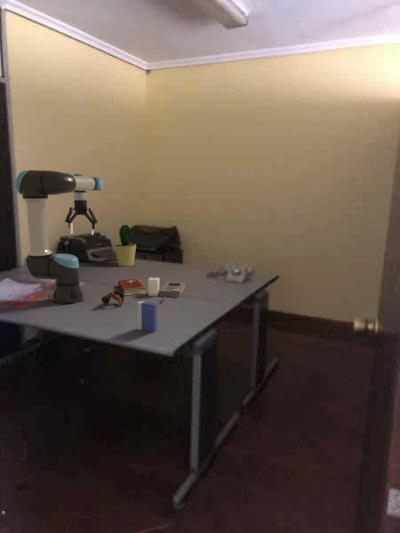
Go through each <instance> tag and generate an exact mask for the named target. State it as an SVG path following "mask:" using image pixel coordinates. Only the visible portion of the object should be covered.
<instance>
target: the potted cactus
mask: <svg viewBox="0 0 400 533" xmlns="http://www.w3.org/2000/svg"><path fill="white" fill-rule="evenodd" d="M118 236H119V240H120V243H116V244H114V248H115V253H116V260H117V265H118V266H120V267H131V266H134V265H135V257H136V249H137V244H136V243H131V240H130V239H131V237H132V229H131V226H129V224H128V225H127V224H122V225H121V226H120V227H119V231H118Z"/></svg>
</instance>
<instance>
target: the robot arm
mask: <svg viewBox="0 0 400 533" xmlns="http://www.w3.org/2000/svg"><path fill="white" fill-rule="evenodd" d="M104 184H105V183H104V179H103V177H100V176H99V177H97V176H95V177H94V176H86V174H85V173H73V174H72V173H68V172H67V173H66V172H61V171H57V170H48V169H47V170H36V169H35V170H33V169H26V170H22V171H20V172H19V173H18V175H17V177H16V179H15V188H16V190H17V193H18V194H19V195H22V200H23V201H25V203H26V212H27V223H28V224H27V225H28V234H29V235H28V236H29V244H30V250H29V252H28V253H27V256H26V257H25V258H24V259H23V260H24V261H23V269H24V270H23V271H24V272H25V274H26V276H28V277H29V278H30V279H35V280H55V288H54V291H53V295H52V302H53V301H55V302H58V303H72V304H76V303H75V302H77V303H80V302H82V301H83V300H84V298H85V295H84V292H83V290H82V288H81V284H80V283H81V282H80V264H79V258H78V257H77V256H75V255H73V254H70V253H57V254H54V255H53V251H51V249H50V246H49V235H48V232H49V231H48V221H47V220H48V219H47V209H46V201H47V200H48V199H49V196H57V195H63V194H69V193H73V206H74V207H73V206H72V207H69V209H68V210H69V211H68V213H67V215H66V217H65V220H64V222H65V223H67V226H68V229H69V234H70V235H73V234H74V225H73V224H74V223H73V221H74V219H76V217H77V216H85V218H87V220H88V221H89V222H90V235H91V236H92V235H93V236H94V234H95V233H94V232H95V229H96V224H98V222H99V221H98V220H97V217H96V215H95V214H94V212H93V207H89V208H88V201H87V199H88V198H87V196H88V195H87V191H95V192H97V191H100V192H101V191H103V189H104ZM73 212H74V213H73ZM72 214H73V215H72ZM79 301H80V302H79ZM55 302H54V303H55ZM58 303H57V304H58Z"/></svg>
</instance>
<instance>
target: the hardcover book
mask: <svg viewBox="0 0 400 533" xmlns="http://www.w3.org/2000/svg"><path fill="white" fill-rule="evenodd" d="M117 285H118V288H119V289H120V290H121V293H122V294H123V295H124V296H129V295H141V294H142V295H143V294H144V295H145V294H146V291H145V290H146V289H147V287H146V286H145V284H143V283H142V281H141V280H140V279H139V278H128V279H118V282H117Z"/></svg>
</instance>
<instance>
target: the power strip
mask: <svg viewBox="0 0 400 533" xmlns="http://www.w3.org/2000/svg"><path fill="white" fill-rule="evenodd" d="M159 289H160V294H159V297H162V299H161V300H160V301H159V302H160V303H161V304H162V303H163V302H164V301H165V299H166V298H167V297H170V298H171V297H174V298H175V297H176V298H180V297H181V295H182V294H183V292H184V290H185V289H186V282H183V281H166V282H165V283H164V284H163V286H162V287H161V288H159Z"/></svg>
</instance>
